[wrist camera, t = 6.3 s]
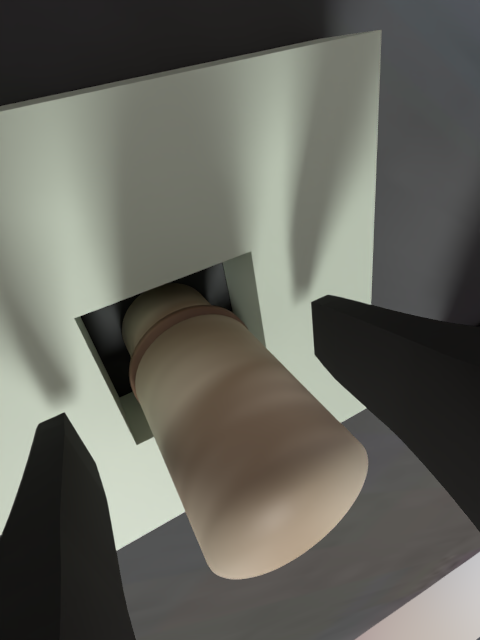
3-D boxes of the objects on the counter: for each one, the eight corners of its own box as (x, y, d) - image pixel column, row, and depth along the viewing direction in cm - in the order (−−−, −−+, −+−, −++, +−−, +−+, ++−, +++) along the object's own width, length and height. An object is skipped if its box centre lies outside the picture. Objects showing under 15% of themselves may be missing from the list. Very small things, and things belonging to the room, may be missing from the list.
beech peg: (204, 256, 13) (371, 399, 7) (227, 343, 16) (369, 509, 10) (92, 300, 12) (177, 512, 6) (134, 388, 15) (226, 607, 8)
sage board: (320, 38, 12) (381, 29, 10) (332, 376, 20) (366, 407, 18) (-266, 162, 8) (-355, 187, 6) (47, 525, 16) (53, 586, 14)
